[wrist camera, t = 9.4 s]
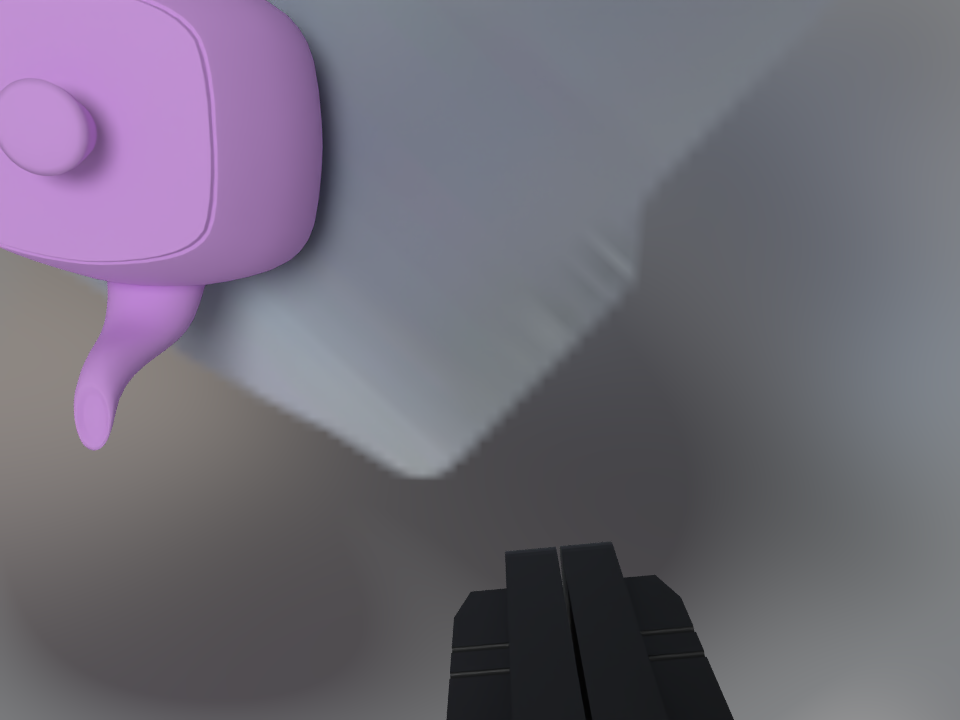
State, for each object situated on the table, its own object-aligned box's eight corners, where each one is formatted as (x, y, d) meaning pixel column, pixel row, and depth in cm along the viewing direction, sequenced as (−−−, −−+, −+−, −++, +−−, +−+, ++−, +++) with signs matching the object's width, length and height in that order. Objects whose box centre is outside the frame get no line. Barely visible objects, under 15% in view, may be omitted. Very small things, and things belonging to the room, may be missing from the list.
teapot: (-33, -33, 39) (-340, -142, 24) (336, -5, 39) (248, -97, 25) (18, 350, 46) (-200, 442, 31) (333, 372, 46) (263, 473, 31)
